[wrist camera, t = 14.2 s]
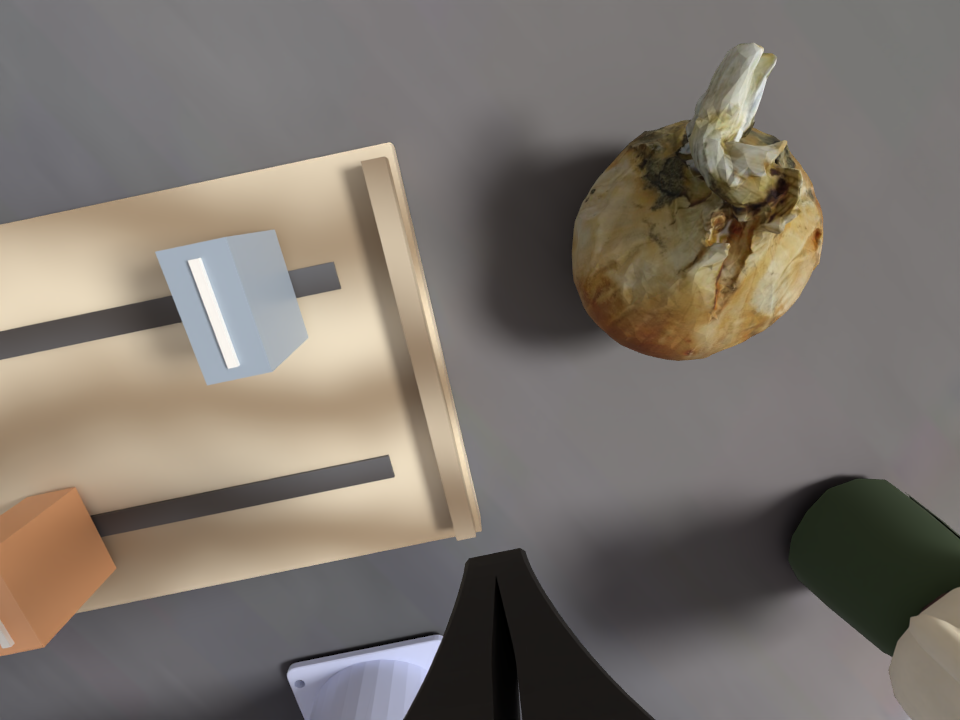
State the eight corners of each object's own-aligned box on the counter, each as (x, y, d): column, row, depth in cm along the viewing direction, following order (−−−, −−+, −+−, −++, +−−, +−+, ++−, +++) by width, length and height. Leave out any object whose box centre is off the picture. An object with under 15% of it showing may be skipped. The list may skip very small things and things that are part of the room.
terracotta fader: (116, 568, 21) (40, 650, 18) (70, 577, 22) (-16, 662, 18) (75, 487, 20) (-17, 556, 16) (27, 497, 20) (-77, 568, 16)
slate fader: (308, 337, 19) (270, 373, 15) (256, 348, 19) (204, 387, 15) (274, 229, 18) (223, 237, 14) (218, 241, 18) (151, 252, 14)
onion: (510, 245, 20) (545, 272, 12) (660, 76, 18) (807, -13, 11) (639, 366, 22) (741, 456, 14) (786, 221, 20) (990, 233, 12)
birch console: (480, 514, 23) (482, 545, 21) (16, 609, 24) (-27, 648, 22) (394, 145, 19) (386, 138, 16) (-188, 268, 19) (-268, 277, 17)
